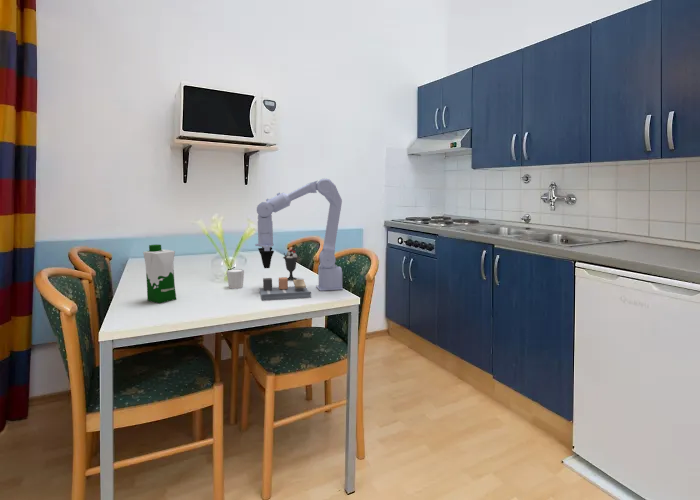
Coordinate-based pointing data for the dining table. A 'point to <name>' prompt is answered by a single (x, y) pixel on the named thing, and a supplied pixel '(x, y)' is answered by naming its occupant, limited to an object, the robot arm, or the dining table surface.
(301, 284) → the block
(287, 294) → the panel
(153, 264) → the milk carton
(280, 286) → the terracotta knob
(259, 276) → the dining table surface
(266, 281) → the black knob
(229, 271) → the grey tapered cup
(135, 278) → the dining table surface
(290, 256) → the sundae
